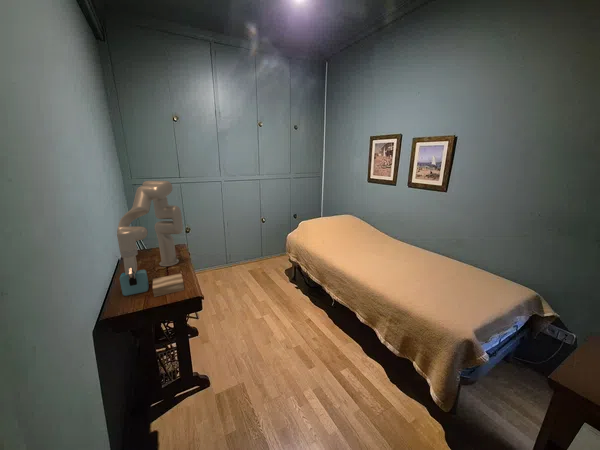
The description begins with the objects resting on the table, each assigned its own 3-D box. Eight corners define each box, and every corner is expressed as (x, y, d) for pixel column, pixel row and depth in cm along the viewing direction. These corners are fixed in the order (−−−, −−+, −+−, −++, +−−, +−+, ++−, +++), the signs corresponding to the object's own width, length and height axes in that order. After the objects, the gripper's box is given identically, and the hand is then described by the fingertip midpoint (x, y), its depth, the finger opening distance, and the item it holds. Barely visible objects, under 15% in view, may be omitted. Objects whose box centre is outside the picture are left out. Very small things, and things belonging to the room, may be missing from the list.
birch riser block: (154, 286, 139) (152, 278, 138) (182, 280, 147) (181, 273, 146) (154, 297, 129) (152, 288, 127) (184, 289, 136) (183, 282, 135)
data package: (149, 287, 138) (145, 268, 135) (148, 291, 135) (145, 271, 132) (124, 292, 133) (120, 273, 130) (122, 296, 129) (118, 276, 126)
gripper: (122, 249, 133) (127, 276, 137) (118, 259, 119) (124, 289, 123) (138, 246, 137) (142, 274, 141) (136, 256, 122) (141, 286, 127)
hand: (134, 281), depth 132 cm, fingers open, 9 cm apart
